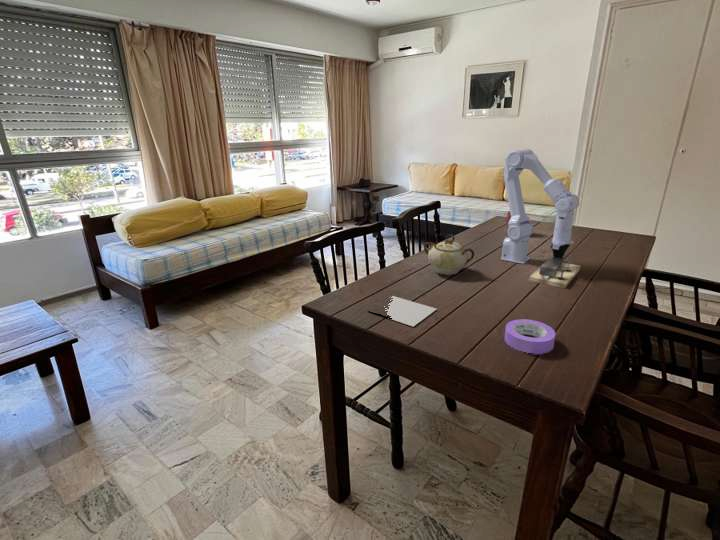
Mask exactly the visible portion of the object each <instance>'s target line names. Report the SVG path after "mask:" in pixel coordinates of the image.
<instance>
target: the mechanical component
mask: <svg viewBox="0 0 720 540" xmlns="http://www.w3.org/2000/svg"><path fill="white" fill-rule="evenodd" d="M506 213H507V214H506V216H505V218H504V221H505V222H506V223H508V222H509V221H510V219H511V214H510V210H509V211H507V212H506ZM508 228H509V226H508V224H507V225H506V231H507V234H508Z"/></svg>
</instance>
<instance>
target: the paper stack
mask: <svg viewBox="0 0 720 540" xmlns="http://www.w3.org/2000/svg"><path fill="white" fill-rule="evenodd" d="M391 296H392V297H391ZM391 296H390V297H391V298H393V299H391V300H393V301H392V302H391V303H389V304H388V305H390V306H388V307H389V309H387V308H385V309H387V310H385V311H388V312H387V315H389V316H391V317H390V318H392V319H391V320H393V321H395V322H398V323H401V324H403V325H404V324H405V325H408V326H410V327H413V328H414V327H415V326H416V325H417V324H419V323H420V322H422V321H423V320H424V319H426V318H427V317H428V316H430V315H431V314H432V313H434V312H435V311H436V310H437V308H435V307H432V306H428V305H426V304H422V303H418V302H414V301H412V300H408V299H405V298H402V297H397V296H394V295H391ZM391 300H390V301H391ZM384 307H385V306H384Z"/></svg>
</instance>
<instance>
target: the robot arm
mask: <svg viewBox="0 0 720 540" xmlns="http://www.w3.org/2000/svg"><path fill="white" fill-rule="evenodd" d="M504 161H505V162H504V163H505V165H504V169H503V178H504V179H503V180H504V186H505V190H506V196H507V202H508V207H509V211H510V214H511V219H510V221H509V222H507V225H508V226H509V228H508V231H507V232H508V233H507V236H508V237H505V238H504V240H503V242H502V250H501V258H500V260H503V261H507V262H512V263H518V264H523V265H524V264H526V263H527V262H528V261H529V260H530V259H531V258H530V257H528V250H529V244H530V238H531V237H530V236H532V235H533V233H534V230H535V229H534V225H533V223H532V222H531V219H530V217H529V216H528V215H527V214H526V209H525V203H524V198H523V193H522V192H523V191H522V187H521V181H520V175H521V173H522V172H523V171H524V170H529V171H531V172H532V174H533V175H534V176H536V178H538V180H539V181H540V182H541V183H542V185H543V190H544V191H545V193H546V194H547V195H548V196H549V197H550V199H551V200H552V201H553V202H554V203H555V204H554V208H555V209H556V217H555V223H554V229H553V236H552V237H553V238H551V243H552V244H550V249H551V251H552V257H558V258H563V259H564V256H565V254H566V252H567V250H568V249H569V248H570V247H571V246H570V245H571V244H572V245H573V244H574V240H571V237H572V231H573V225H574V219H575V212H576V210H577V208H578V207H579V205H580V199H579V197H578V195H576V194H572V192H571V191H570V190H568V189H567V188H566V187H565V185H564V182H563V180H560V179H558V178H553V177H552V176H551V175H550V173H549V172H548V170H547V169H546V168H545V166H544V165H543V164H542V162H541V161H540V160H539V157H538V155H536V154H535V152H534V151H533V150H532V149H530V148H525V149H513V150H511V151H509V153H508V154H507V155H506V157H505V159H504Z"/></svg>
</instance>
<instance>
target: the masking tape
mask: <svg viewBox="0 0 720 540" xmlns="http://www.w3.org/2000/svg"><path fill="white" fill-rule="evenodd" d="M526 335H528V336H526ZM532 336H533V337H532ZM555 338H556V331H555V330H554V328H552V327H551V326H550V325H547V324H546V323H544V322H541V321H537V320H534V319H526V318H523V319H521V318H520V319H515V320H511V321H508V322H507V323H506V325H505V332H504V342H505V343H506V344H507V346H509V345H510V346H511V348H512V347H513V348H514V350H515V349H516V351H518V350H519V351H518V352H520V351H522V352H521V353H524V352H526V353H525V354H528V353H533V354H532V355H543V354H542V353H546V354H548V353H550V352H552V351H553V350H554V347H555V340H556V339H555ZM510 346H509V347H510ZM513 348H512V349H513ZM551 350H552V351H551ZM549 351H550V352H549ZM547 352H548V353H547Z"/></svg>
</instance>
